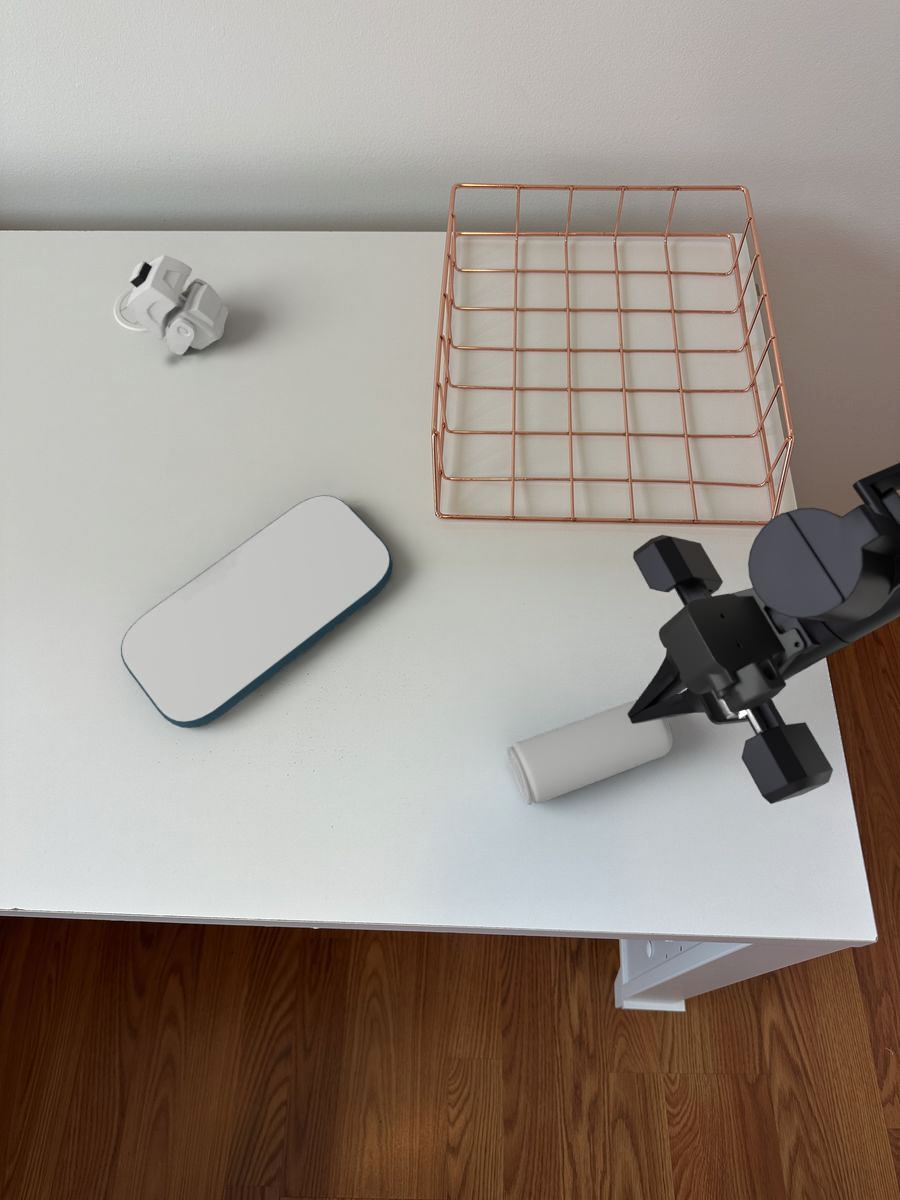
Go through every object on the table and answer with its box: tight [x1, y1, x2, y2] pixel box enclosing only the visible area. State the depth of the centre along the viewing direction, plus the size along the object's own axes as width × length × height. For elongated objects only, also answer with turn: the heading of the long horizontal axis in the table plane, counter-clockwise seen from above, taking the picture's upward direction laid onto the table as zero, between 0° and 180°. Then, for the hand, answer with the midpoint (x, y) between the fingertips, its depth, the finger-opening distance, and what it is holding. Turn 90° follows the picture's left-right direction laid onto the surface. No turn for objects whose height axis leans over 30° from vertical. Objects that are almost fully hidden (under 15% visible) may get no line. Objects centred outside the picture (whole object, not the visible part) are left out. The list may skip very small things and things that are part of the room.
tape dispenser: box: [126, 254, 230, 356], centre depth 83 cm, size 6×7×10 cm
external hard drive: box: [120, 494, 394, 729], centre depth 72 cm, size 24×12×2 cm, turn 131°
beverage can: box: [506, 698, 674, 805], centre depth 65 cm, size 5×5×12 cm
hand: (632, 719), depth 60 cm, fingers closed
